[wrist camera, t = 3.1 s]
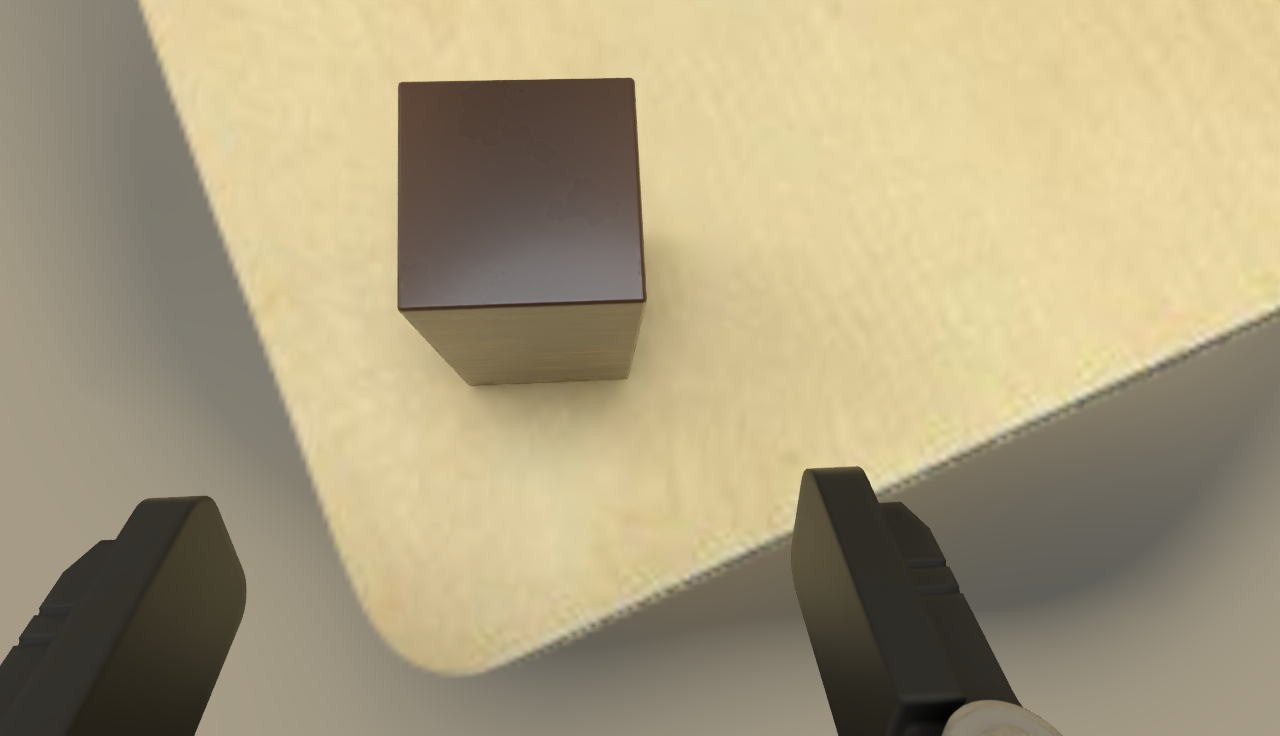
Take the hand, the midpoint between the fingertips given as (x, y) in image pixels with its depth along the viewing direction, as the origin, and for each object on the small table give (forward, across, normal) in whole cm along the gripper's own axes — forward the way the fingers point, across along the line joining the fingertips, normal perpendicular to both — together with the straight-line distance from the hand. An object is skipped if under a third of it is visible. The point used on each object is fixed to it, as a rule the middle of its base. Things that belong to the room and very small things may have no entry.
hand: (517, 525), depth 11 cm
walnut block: (+12, 0, +3) cm, 12 cm away
